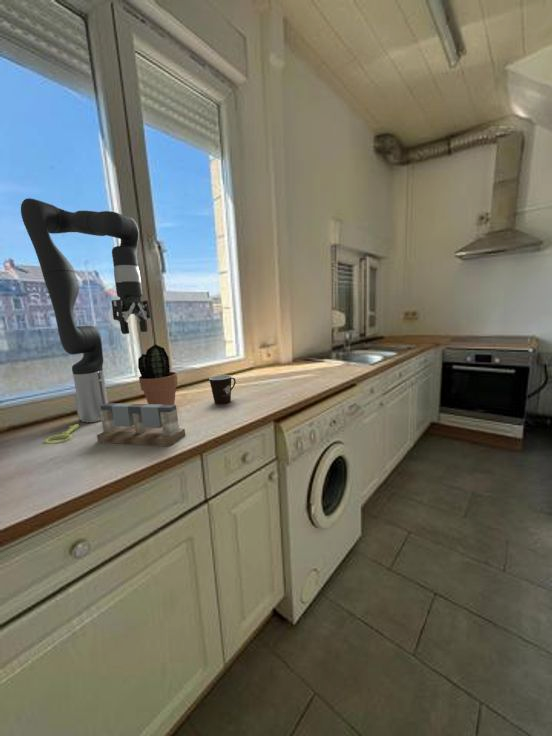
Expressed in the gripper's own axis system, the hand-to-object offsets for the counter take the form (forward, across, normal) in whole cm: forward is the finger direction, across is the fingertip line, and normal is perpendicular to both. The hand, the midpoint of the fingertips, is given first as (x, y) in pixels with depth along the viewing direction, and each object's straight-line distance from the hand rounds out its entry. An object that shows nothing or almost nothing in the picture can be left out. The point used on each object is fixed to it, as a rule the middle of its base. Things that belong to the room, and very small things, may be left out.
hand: (135, 332), depth 102 cm
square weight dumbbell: (+26, +14, +9) cm, 31 cm away
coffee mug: (+30, -25, +18) cm, 43 cm away
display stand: (+30, +14, +9) cm, 34 cm away
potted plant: (+30, -14, -4) cm, 34 cm away
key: (+31, +16, -18) cm, 39 cm away
